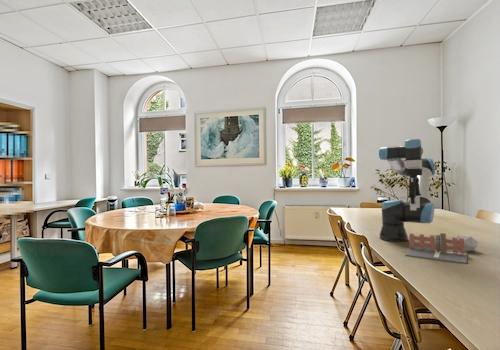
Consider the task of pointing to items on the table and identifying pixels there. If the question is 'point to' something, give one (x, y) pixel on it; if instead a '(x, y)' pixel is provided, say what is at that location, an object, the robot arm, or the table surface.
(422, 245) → the fence gate
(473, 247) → the grey rounded lump
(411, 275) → the table surface
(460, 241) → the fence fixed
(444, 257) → the card
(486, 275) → the table surface
